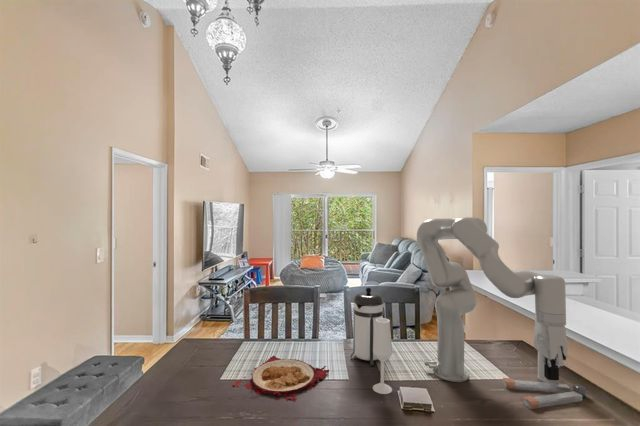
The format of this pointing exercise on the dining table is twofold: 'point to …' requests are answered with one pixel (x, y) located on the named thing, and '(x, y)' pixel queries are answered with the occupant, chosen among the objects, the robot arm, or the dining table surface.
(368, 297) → the coffee press
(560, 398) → the arm
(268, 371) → the plate with food
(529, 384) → the base
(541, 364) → the travel mug
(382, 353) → the champagne flute
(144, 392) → the dining table surface
